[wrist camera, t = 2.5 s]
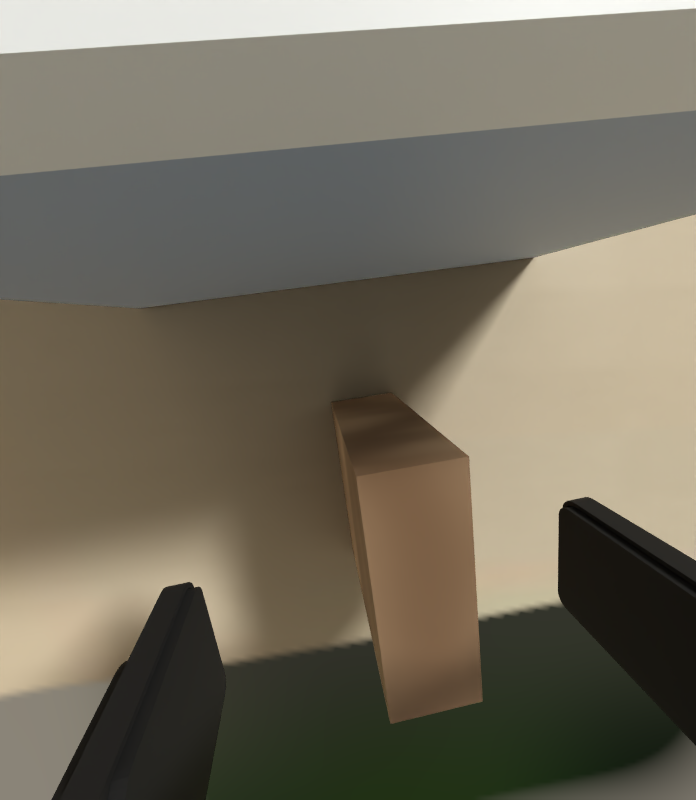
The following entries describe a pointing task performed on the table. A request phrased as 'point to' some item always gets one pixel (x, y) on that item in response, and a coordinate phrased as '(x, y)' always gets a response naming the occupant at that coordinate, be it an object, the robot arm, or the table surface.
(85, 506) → the table surface
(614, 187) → the box
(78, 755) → the robot arm
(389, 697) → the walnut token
